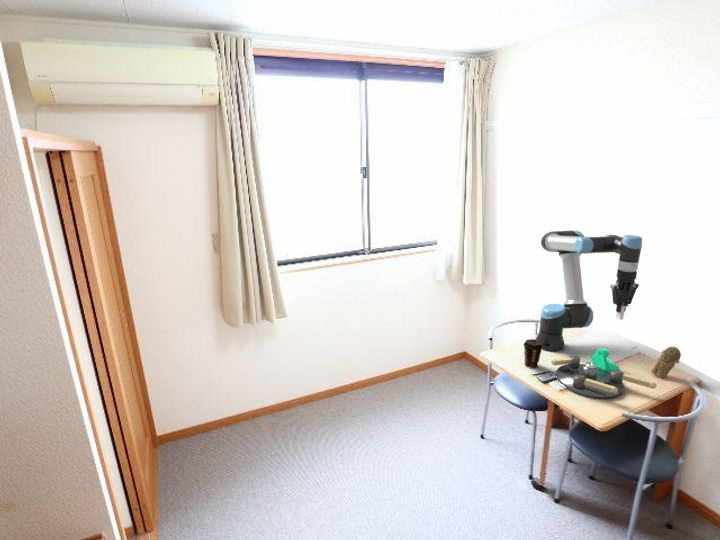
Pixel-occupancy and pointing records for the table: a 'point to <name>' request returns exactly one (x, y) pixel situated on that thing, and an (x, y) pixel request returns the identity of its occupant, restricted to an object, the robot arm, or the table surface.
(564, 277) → the robot arm
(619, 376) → the knob
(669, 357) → the figurine
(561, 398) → the table surface
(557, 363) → the maraca
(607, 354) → the camera mount
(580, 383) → the knob
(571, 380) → the level base
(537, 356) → the coffee cup
